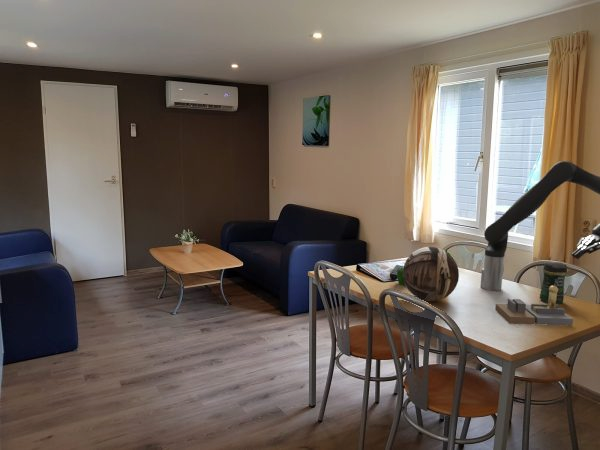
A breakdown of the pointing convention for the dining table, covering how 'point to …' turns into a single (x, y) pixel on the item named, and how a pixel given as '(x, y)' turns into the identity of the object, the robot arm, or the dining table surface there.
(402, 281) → the bell pepper
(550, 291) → the bolt
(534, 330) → the dining table surface
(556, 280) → the coffee jar
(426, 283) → the sphere
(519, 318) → the door edge model
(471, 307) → the dining table surface
